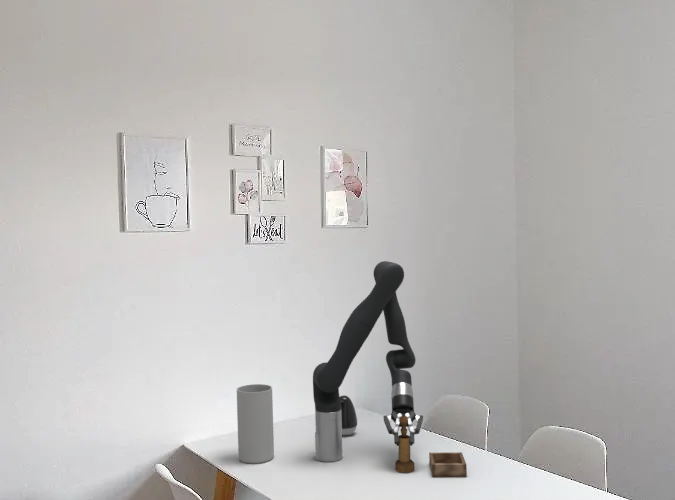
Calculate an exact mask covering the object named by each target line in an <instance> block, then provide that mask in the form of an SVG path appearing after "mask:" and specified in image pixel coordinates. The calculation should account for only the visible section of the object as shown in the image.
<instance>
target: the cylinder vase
mask: <svg viewBox="0 0 675 500" xmlns="http://www.w3.org/2000/svg"><path fill="white" fill-rule="evenodd" d="M273 402H274V400H273V387H272V386H271V385H269V384H259V383H257V384H255V383H254V384H246V385H241V386H238V387H237V388H236V409H237V410H236V412H237V413H236V414H237V418H236V419H237V444H238V445H237V447H238V452H237V453H238V459H239V460H240V461H241V462H242V463H244V464H245V463H246V464H255V465H256V464H262V463H266V462H269V461H271V460H272V459H274V457H275V443H274V440H275V439H274V437H275V436H274V408H273V407H274V403H273Z"/></svg>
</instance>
